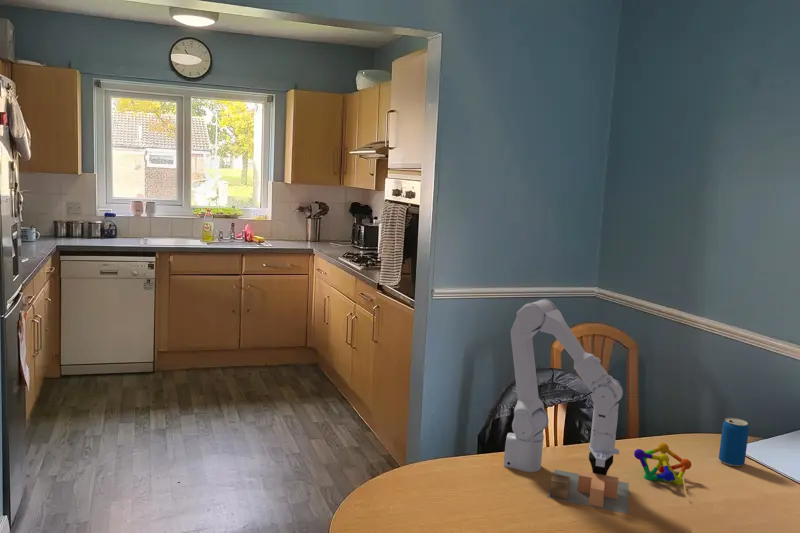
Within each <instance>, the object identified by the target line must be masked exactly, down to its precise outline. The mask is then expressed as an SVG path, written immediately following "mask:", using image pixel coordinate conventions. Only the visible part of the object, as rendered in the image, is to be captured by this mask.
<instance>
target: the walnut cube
mask: <svg viewBox="0 0 800 533" xmlns="http://www.w3.org/2000/svg"><path fill="white" fill-rule="evenodd" d="M551 475H552V476H551V478H550V485H549V488H550V496H549V497H554V498H559V499H564V500H567V497H568V492H569V482H570V477H568V476H563V475H557V474H554V473H552V474H551Z"/></svg>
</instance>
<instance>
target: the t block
mask: <svg viewBox="0 0 800 533" xmlns="http://www.w3.org/2000/svg"><path fill="white" fill-rule="evenodd" d="M578 474H579V478H578V489H577V491H579V492H584V493H589V494H590V497H589V505H593V506H598V507H602V506H603V496H605V497H610V498H615V499H617V490H618V481H619V477H617V476H611V475H607V474H606V475H602V474H596V473H593V472H590V471H584V470H579V472H578Z"/></svg>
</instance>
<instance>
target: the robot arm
mask: <svg viewBox="0 0 800 533" xmlns="http://www.w3.org/2000/svg"><path fill="white" fill-rule="evenodd" d="M562 314H563V313H562V312H561V311H560V310H559V309H558V308H557V307H556V305H555V304H554V303H553V302H552V301H551V300H549V299H547V298H543V299H539V300H537V301H534V302H533V301H532V302H528V303H525V304H524V305H523V306H521V307H520V309H519V310H517V311H516V314H515V315H516V317H515V320H514V322H513V323H512V327H511V329H510V341H511V349H512V351H511V352H512V359H513V360H512V361H513V368H514V377H515V388H516V389H515V390H516V395H517V396H516V397H517V401H516V405H515V406H514V410H513V420H512V422H511V428H512V432H507V435H506V437H505V438H506V440H505V444H504V454H503V455H504V456H503V467H505V468H509V469H510V468H511V469H515V470H519V471H522V472H526V473H535V472H538V471H540V470H541V469H542V458H543V448H544V438H545V437H544V430H545V429H547V427H548V425H549V416H548V414H547V412H546V410H545V408H544V407H545V406H544V402H543V401H542V400H541V399H540V397H539V387H538V386H539V385H538V377H537V370H536V361H535V351H534V349H535V348H534V341H533V337H534V336H535V335H536V334H537V333H538V332H539V331H540V333H541V332H542V333H545V334H550V335H552V336H554V338H556V340H557V341H558V343H560V345H561V346H562V347H563V349H564V350H565V351H566V352H567V353H568V354H569V356H570V357H571V359H572V360H573V369H574V370H575V371H576V373H577V375H579V377H580V379H581V380H582V382H584V384H585V386H586V387H587V389H589V391H591V393H590V398H591V400H592V402H593V404H594V405H593V411H592V422H591V428H590V429H591V431H590V439H589V441H590V442H589V445H588V451H589V453H588V460H589V462H590V466H591V469H592V473H596V474H602V475H607V474H608V471H609V469H610V467H611V466H612V465H613V463H614V456H615V455H619V454H620V449H619V448H616V447H615V446H616V438H617V437H616V435H617V426H618V420H619V418H618V417H619V404H620V403H619V401H620V400H621V399H622V397H623V394H624V390H623V387H622V385H621V382H619V380H617V379H614V378H613V376H612V375H609V374H608V372H607V371H606V369H605V368H604V367H603V366H602V363H601V362H602V360H601V358H599V357H598V356H597V357H596V356H595V355H594V354H593V353H589V352H586V350H585V349H584V348H583V346H582V345H581V343H580V341H579V339H577V337H576V335H575V334H574V333H573V331H572V329H571V328H570V327H569V325H568V324H567V322H566V320H565V318H564V316H563V315H562Z"/></svg>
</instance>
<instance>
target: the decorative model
mask: <svg viewBox="0 0 800 533" xmlns="http://www.w3.org/2000/svg"><path fill="white" fill-rule="evenodd" d="M659 452H660V453H661V454H659V455H657V454H656V453H659ZM666 453H667V454H668V455H669V456H671V457H672V458H673V459H675V460H676V461H677V462H679V463H678V464H674V465H671V464H670V463H669V462H670V457H669V456H668V455H667V454H666ZM633 455H634V457H635V458H636V459H637V460H639V462H640V464H641V466H642V468H643V471H644V476H643V478H644V479H645V480H647V481H653V482H654V481H659V482H666V483H667V482H668V483H671V484H672V483H673V484H674V485H677V486H682V485H684V480H683V477H684V474H685V472H686V470H689V469H691V467H692V462H691V460H690V459H688V458H682V457H681V456H679V455H677V454H676V453H674V452H673V451H672V450H670V449H669V445H668V444H667V443H665V442H660V443H659V444H658V447H655V448H653V449H651V450H648V451H646V450H643V449H640V448H637V449H635V450H634V451H633ZM647 459H650V460H655V461H657V463H656V465H655V466H654V467H653V469H652V470H650V468H649V465H648V461H647ZM678 469H680V470H679V473H678V475H677V474H676V473H675V470H678ZM658 472H659V473H658ZM657 473H658V474H657Z"/></svg>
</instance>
